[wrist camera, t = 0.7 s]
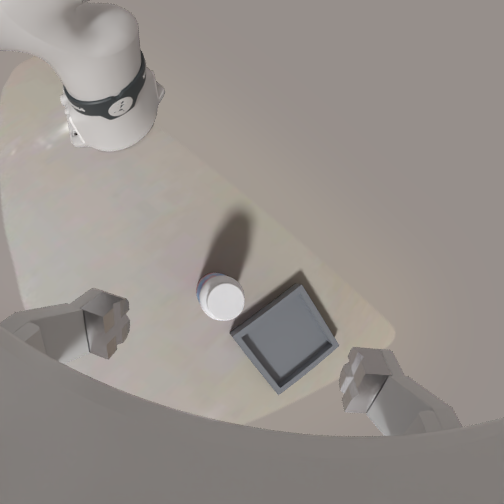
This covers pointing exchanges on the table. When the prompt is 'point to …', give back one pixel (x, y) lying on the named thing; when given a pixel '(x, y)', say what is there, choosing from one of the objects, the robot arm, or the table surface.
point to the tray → (286, 338)
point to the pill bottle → (220, 296)
